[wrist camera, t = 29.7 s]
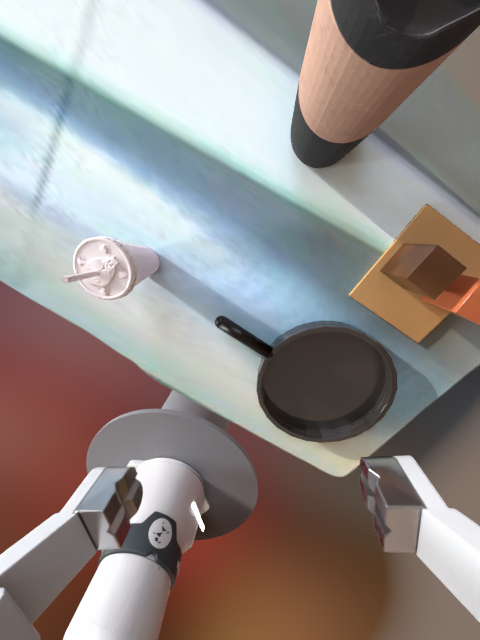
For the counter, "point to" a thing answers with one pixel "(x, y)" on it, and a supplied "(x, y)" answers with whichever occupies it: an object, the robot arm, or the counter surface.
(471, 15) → the travel mug
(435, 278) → the walnut block
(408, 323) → the mat
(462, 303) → the terracotta block
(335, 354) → the pan
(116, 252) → the smoothie
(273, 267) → the counter surface
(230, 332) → the pan handle
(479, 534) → the robot arm
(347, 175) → the counter surface
